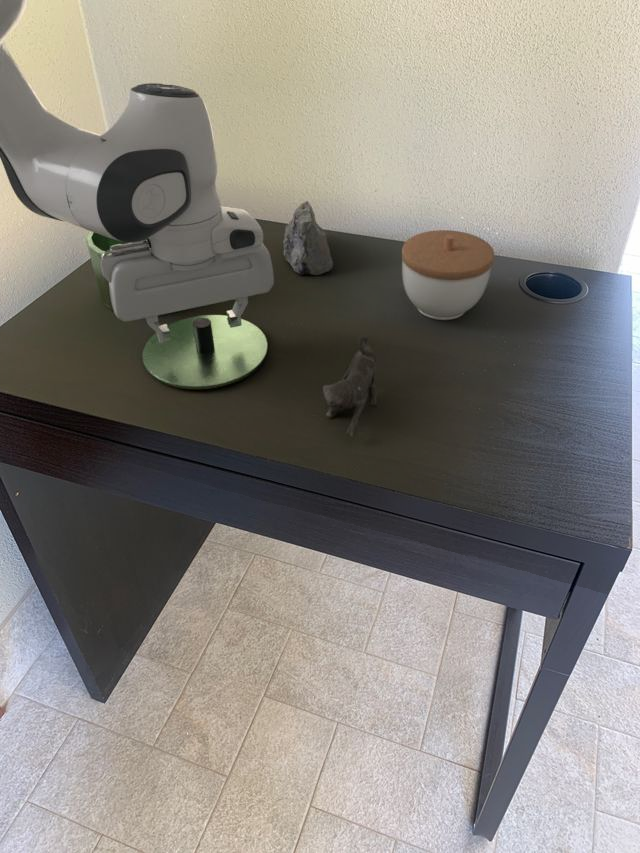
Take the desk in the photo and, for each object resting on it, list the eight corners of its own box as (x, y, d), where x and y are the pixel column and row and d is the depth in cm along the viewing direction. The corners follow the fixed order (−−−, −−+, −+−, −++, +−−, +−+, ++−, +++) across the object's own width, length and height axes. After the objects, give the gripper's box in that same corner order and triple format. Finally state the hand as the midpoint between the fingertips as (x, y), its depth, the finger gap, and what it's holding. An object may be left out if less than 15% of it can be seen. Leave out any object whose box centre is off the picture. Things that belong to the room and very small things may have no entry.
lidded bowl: (382, 313, 99) (386, 243, 92) (423, 277, 107) (429, 209, 100) (462, 340, 94) (472, 267, 86) (498, 300, 101) (511, 230, 94)
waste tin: (110, 327, 97) (95, 266, 91) (94, 276, 108) (79, 219, 102) (216, 304, 102) (208, 244, 95) (190, 257, 113) (181, 202, 106)
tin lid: (158, 406, 84) (151, 373, 80) (133, 336, 95) (125, 305, 92) (285, 374, 88) (283, 341, 85) (246, 311, 100) (243, 280, 97)
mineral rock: (295, 236, 118) (292, 178, 112) (353, 245, 115) (354, 187, 109) (263, 270, 109) (259, 209, 103) (326, 281, 106) (326, 220, 100)
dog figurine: (343, 376, 88) (343, 327, 83) (386, 385, 86) (389, 336, 81) (308, 434, 80) (307, 384, 75) (355, 446, 78) (357, 395, 73)
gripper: (100, 260, 75) (124, 363, 84) (275, 229, 81) (280, 328, 90) (92, 237, 80) (115, 337, 89) (258, 208, 85) (264, 305, 94)
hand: (200, 332), depth 89 cm, fingers open, 8 cm apart
